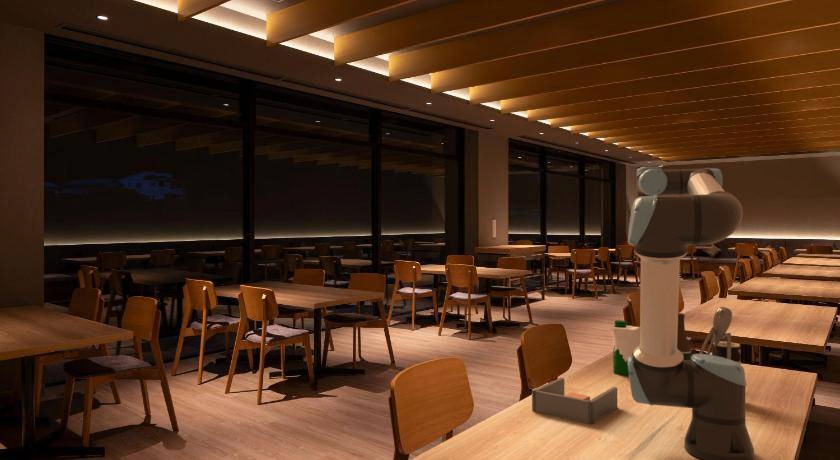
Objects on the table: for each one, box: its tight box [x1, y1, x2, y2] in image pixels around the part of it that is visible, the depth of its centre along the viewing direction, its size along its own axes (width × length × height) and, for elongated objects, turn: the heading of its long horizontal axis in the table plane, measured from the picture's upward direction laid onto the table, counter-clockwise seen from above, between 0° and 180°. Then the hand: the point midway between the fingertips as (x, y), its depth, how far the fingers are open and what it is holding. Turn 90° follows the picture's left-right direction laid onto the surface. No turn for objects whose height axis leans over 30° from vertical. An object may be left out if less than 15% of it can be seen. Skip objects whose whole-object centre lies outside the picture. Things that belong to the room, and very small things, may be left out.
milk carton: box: [611, 319, 640, 377], centre depth 207 cm, size 9×9×20 cm
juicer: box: [698, 306, 733, 360], centre depth 173 cm, size 10×11×30 cm
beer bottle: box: [677, 312, 692, 360], centre depth 200 cm, size 8×8×24 cm
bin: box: [531, 377, 618, 425], centre depth 168 cm, size 19×18×6 cm
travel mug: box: [711, 341, 742, 366], centre depth 176 cm, size 8×8×18 cm
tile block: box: [564, 392, 591, 401], centre depth 168 cm, size 6×6×4 cm
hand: (649, 291), depth 176 cm, fingers closed
